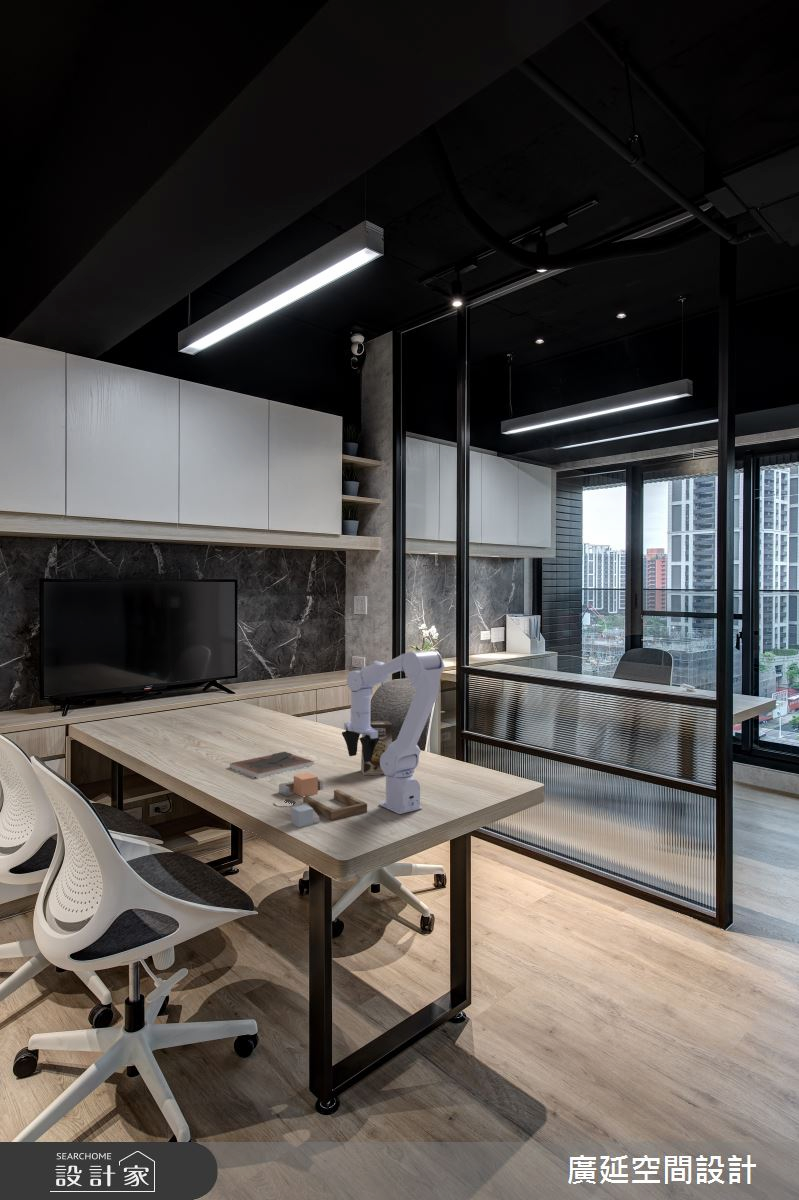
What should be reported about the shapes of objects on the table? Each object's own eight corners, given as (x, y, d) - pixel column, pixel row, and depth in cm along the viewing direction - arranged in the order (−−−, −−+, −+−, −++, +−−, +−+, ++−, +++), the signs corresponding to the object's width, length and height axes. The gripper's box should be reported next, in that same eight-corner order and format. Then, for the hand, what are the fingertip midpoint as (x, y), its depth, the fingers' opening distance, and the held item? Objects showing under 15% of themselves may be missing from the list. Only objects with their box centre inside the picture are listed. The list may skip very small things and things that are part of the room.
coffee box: (363, 775, 206) (364, 724, 205) (360, 770, 212) (361, 720, 212) (392, 774, 208) (392, 724, 207) (388, 769, 214) (389, 719, 214)
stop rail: (323, 789, 192) (323, 781, 192) (286, 796, 184) (286, 788, 184) (315, 785, 195) (315, 777, 195) (278, 792, 188) (279, 784, 188)
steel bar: (319, 824, 165) (319, 817, 165) (312, 824, 164) (312, 817, 164) (307, 808, 176) (307, 802, 176) (300, 809, 175) (300, 802, 175)
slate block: (313, 824, 164) (313, 808, 163) (298, 827, 161) (299, 811, 161) (305, 819, 167) (305, 804, 167) (291, 823, 164) (291, 807, 164)
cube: (317, 794, 187) (317, 776, 187) (302, 797, 184) (302, 779, 184) (308, 789, 191) (309, 772, 191) (293, 792, 188) (293, 775, 188)
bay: (367, 811, 173) (367, 803, 173) (331, 820, 166) (331, 811, 166) (337, 797, 184) (337, 789, 184) (303, 804, 178) (303, 796, 178)
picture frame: (284, 758, 228) (229, 770, 212) (284, 751, 228) (229, 762, 212) (313, 768, 216) (258, 781, 201) (314, 760, 216) (258, 773, 201)
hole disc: (299, 804, 178) (299, 803, 178) (279, 808, 174) (279, 808, 174) (289, 798, 183) (289, 797, 183) (269, 802, 179) (269, 802, 179)
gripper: (335, 709, 192) (334, 755, 192) (363, 717, 180) (362, 766, 181) (355, 706, 196) (354, 751, 196) (384, 714, 185) (383, 762, 185)
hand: (360, 758), depth 189 cm, fingers open, 7 cm apart
